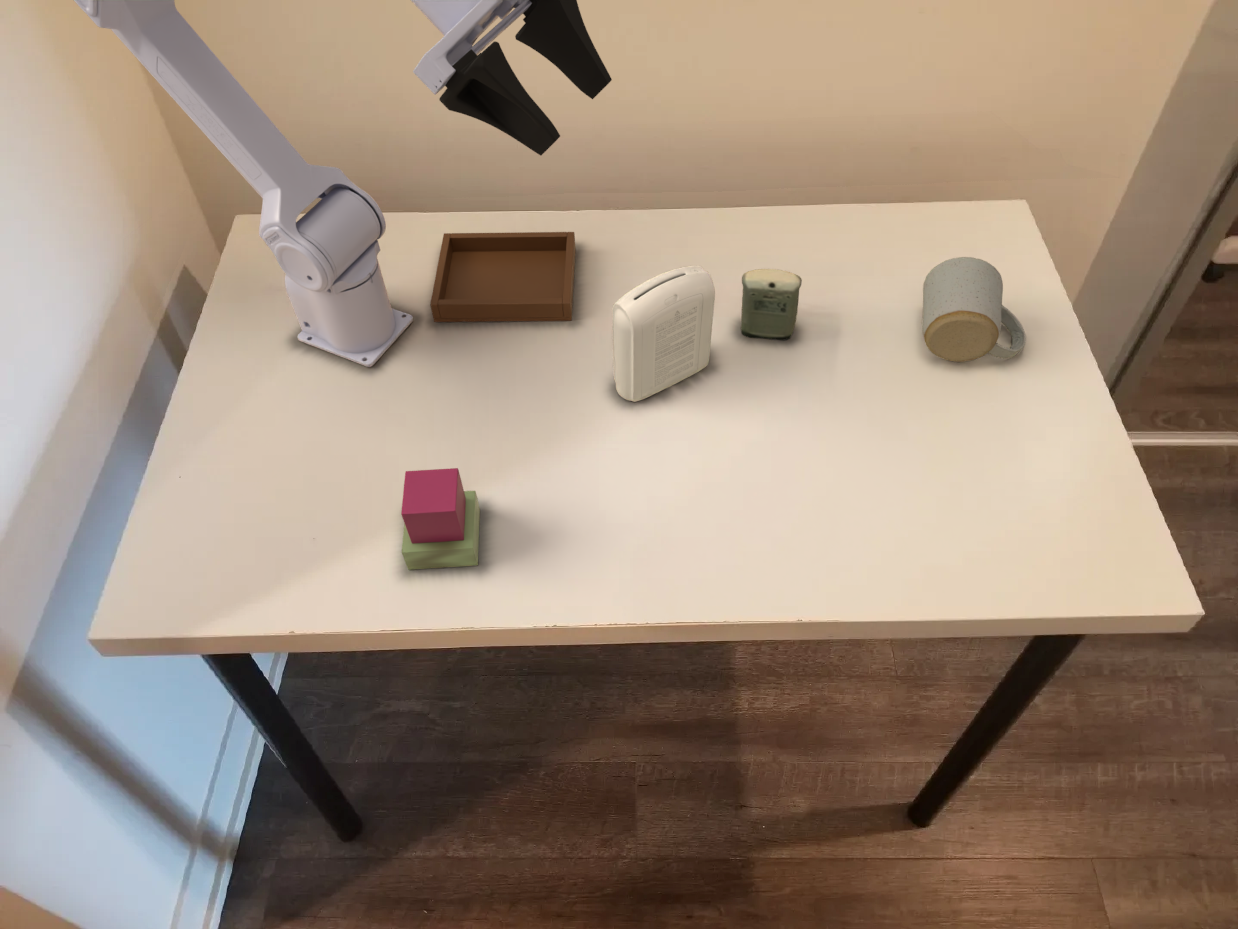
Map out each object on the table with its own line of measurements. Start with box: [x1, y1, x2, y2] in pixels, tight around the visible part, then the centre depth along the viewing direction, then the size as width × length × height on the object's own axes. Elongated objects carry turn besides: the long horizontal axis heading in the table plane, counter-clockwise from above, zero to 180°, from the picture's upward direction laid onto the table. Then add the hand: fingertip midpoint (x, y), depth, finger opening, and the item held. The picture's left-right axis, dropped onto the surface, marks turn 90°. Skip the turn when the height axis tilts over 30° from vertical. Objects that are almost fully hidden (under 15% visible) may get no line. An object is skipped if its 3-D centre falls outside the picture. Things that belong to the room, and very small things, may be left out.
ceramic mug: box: [921, 256, 1027, 363], centre depth 92 cm, size 11×8×8 cm
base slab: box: [401, 490, 481, 571], centre depth 81 cm, size 6×6×3 cm
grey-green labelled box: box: [740, 268, 803, 341], centre depth 94 cm, size 6×5×8 cm
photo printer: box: [611, 265, 716, 403], centre depth 89 cm, size 10×4×12 cm, turn 123°
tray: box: [429, 231, 577, 323], centre depth 101 cm, size 15×12×2 cm
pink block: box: [401, 467, 466, 543], centre depth 78 cm, size 4×4×4 cm
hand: (577, 117), depth 65 cm, fingers open, 7 cm apart
